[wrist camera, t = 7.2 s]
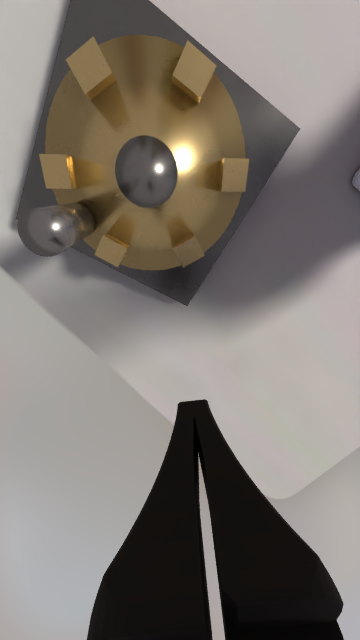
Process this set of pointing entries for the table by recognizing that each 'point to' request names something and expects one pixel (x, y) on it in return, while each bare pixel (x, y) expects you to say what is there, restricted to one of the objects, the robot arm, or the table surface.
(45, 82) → the table surface
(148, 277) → the base plate
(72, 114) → the gold round piece
